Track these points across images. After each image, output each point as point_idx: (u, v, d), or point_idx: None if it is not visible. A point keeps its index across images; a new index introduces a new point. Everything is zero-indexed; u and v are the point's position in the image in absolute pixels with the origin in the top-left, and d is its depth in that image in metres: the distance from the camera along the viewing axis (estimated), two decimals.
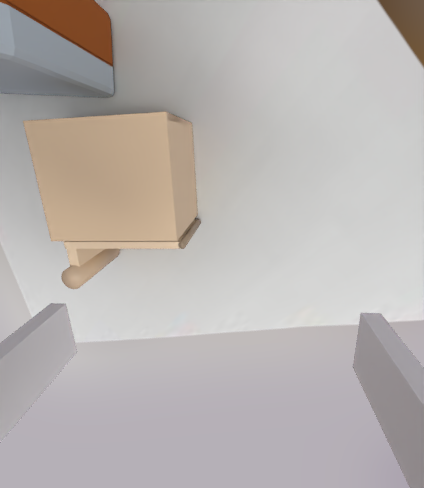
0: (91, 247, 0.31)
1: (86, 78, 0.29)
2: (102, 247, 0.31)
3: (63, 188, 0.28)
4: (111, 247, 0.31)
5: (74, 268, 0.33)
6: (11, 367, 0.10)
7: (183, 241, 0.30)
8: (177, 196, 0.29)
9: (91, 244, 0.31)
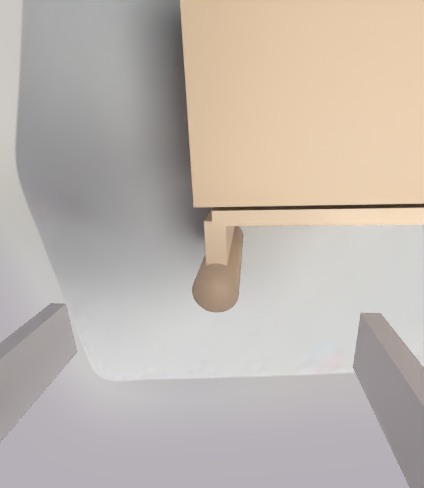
0: (276, 223, 0.14)
1: None
2: (302, 224, 0.14)
3: (252, 65, 0.11)
4: (325, 222, 0.14)
5: (221, 269, 0.15)
6: (11, 367, 0.10)
7: None
8: None
9: (277, 217, 0.14)
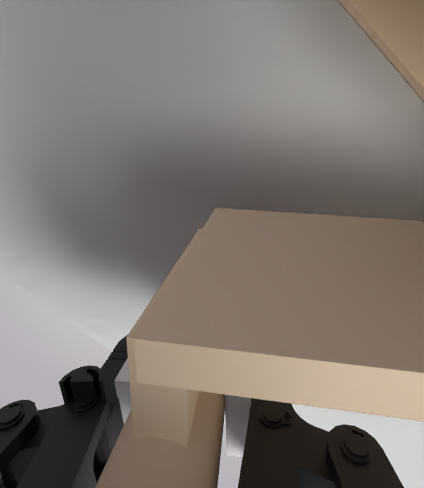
0: (356, 405, 0.04)
1: None
2: None
3: None
4: None
5: (167, 477, 0.05)
6: None
7: None
8: None
9: (366, 389, 0.04)
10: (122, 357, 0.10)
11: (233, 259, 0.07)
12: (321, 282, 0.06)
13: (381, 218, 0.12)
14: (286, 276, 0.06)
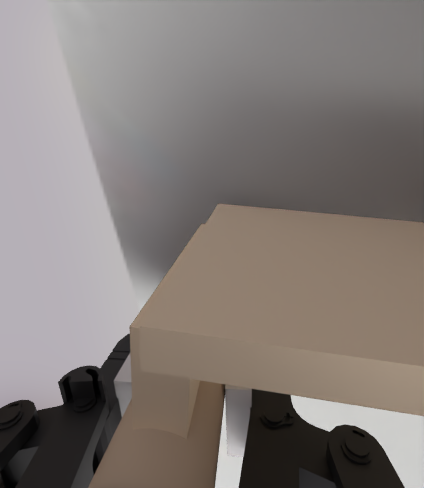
0: (361, 399, 0.04)
1: None
2: None
3: None
4: None
5: (166, 468, 0.05)
6: None
7: None
8: None
9: (372, 383, 0.04)
10: (121, 357, 0.10)
11: (237, 253, 0.07)
12: (326, 277, 0.06)
13: (384, 219, 0.12)
14: (291, 271, 0.06)
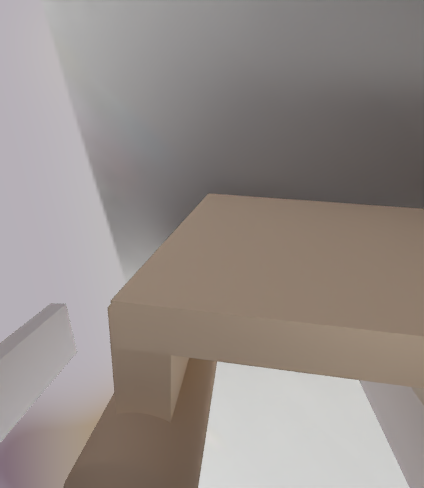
0: (338, 370, 0.04)
1: None
2: None
3: None
4: None
5: (149, 450, 0.05)
6: (11, 367, 0.10)
7: None
8: None
9: (347, 351, 0.04)
10: None
11: (221, 236, 0.07)
12: (309, 257, 0.06)
13: (375, 205, 0.12)
14: (274, 251, 0.06)
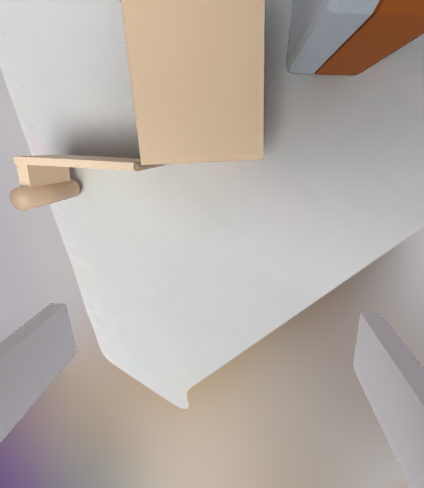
0: (42, 164, 0.30)
1: (303, 56, 0.27)
2: (54, 165, 0.30)
3: (187, 24, 0.24)
4: (64, 165, 0.30)
5: (24, 188, 0.31)
6: (11, 367, 0.10)
7: (139, 163, 0.29)
8: None
9: (43, 161, 0.30)
10: None
11: (45, 156, 0.33)
12: (56, 157, 0.32)
13: (118, 157, 0.39)
14: None
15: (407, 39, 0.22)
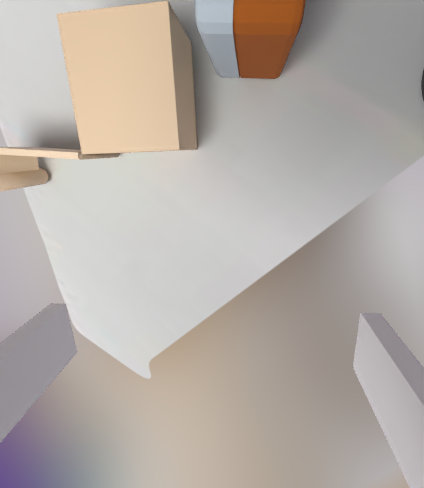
0: (5, 153, 0.36)
1: (215, 63, 0.33)
2: (14, 154, 0.36)
3: (111, 39, 0.29)
4: (22, 154, 0.36)
5: None
6: (10, 367, 0.10)
7: None
8: (121, 152, 0.35)
9: (5, 151, 0.36)
10: None
11: (11, 147, 0.39)
12: None
13: None
14: None
15: (281, 51, 0.27)
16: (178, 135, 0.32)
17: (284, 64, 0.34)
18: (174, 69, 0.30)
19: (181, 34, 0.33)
